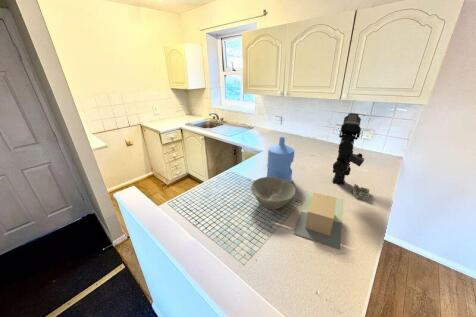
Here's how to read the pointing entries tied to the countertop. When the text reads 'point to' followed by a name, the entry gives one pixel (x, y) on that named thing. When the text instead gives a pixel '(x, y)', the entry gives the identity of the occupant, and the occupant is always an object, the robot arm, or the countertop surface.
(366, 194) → the egg carton
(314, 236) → the board
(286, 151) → the water jug
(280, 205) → the ceramic bowl
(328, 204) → the kraft carton
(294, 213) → the countertop surface
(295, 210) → the countertop surface
